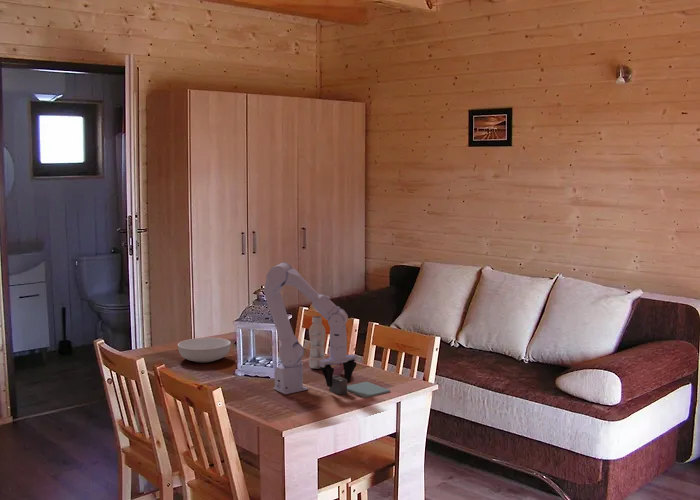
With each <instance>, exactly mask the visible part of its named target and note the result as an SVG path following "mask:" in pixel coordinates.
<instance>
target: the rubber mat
mask: <svg viewBox="0 0 700 500" xmlns="http://www.w3.org/2000/svg"><path fill="white" fill-rule="evenodd" d="M347 392H350V393H352V394H354V395H357V396H360V397H362V398H370V397H374V396H379V395H383V394H386V393H387V394H388V393H391V390H390V389H387V388H385V387H382V386H380V385H377V384H374V383H372V382H370V381H363V382H359V383H354V384H349V385H348V384H347Z"/></svg>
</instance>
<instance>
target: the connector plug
mask: <svg viewBox="0 0 700 500" xmlns="http://www.w3.org/2000/svg"><path fill="white" fill-rule="evenodd" d="M324 383H325V384H327V383H326V379H325V380H324ZM347 386H348V383H347V379H345V378H344V377H342V376H341V375H340V376H337V375H333V377H332V387H329V386H328V387H329V389H328V390H329V391H330V393H333V394H336V395H338V396H347V395H348V391H347Z"/></svg>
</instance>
